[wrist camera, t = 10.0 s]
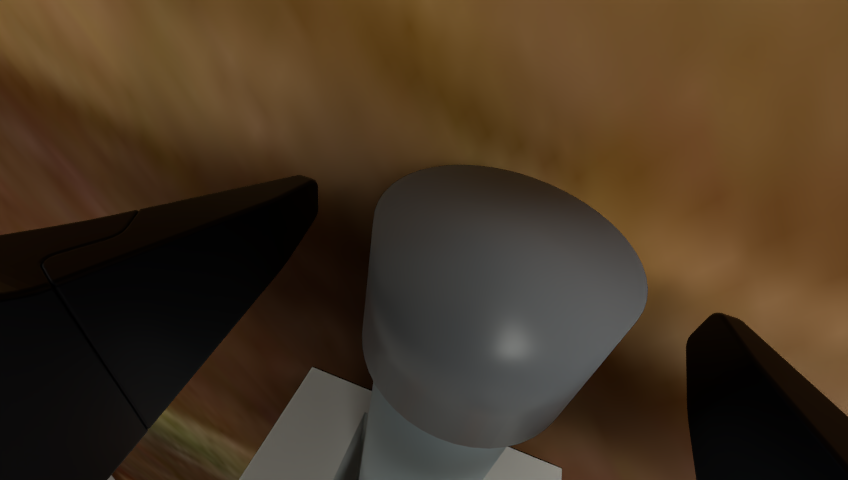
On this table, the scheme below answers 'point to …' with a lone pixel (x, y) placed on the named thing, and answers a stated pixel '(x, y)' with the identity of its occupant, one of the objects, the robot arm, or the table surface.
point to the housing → (346, 438)
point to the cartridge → (484, 316)
